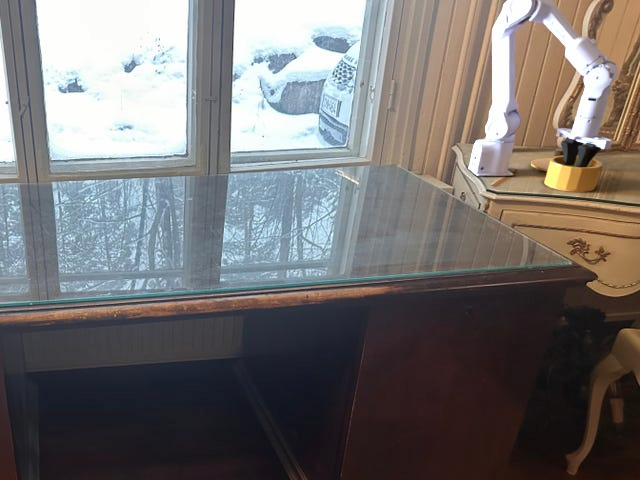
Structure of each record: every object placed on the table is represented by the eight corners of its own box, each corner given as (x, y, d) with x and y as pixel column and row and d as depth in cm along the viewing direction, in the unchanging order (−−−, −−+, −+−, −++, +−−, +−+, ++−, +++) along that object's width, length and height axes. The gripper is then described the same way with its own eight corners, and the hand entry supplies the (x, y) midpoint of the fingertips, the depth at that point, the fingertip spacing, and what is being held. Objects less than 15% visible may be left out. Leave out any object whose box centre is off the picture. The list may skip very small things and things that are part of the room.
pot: (556, 192, 170) (563, 168, 167) (536, 178, 180) (542, 155, 176) (604, 191, 169) (611, 167, 166) (581, 178, 179) (588, 155, 176)
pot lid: (541, 175, 182) (546, 156, 179) (522, 162, 193) (527, 144, 190) (589, 174, 181) (595, 155, 179) (568, 161, 192) (573, 143, 189)
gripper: (553, 111, 170) (538, 165, 177) (602, 123, 158) (585, 180, 166) (574, 109, 172) (559, 162, 179) (625, 120, 160) (607, 177, 167)
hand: (573, 171), depth 172 cm, fingers closed on chili, 3 cm apart
